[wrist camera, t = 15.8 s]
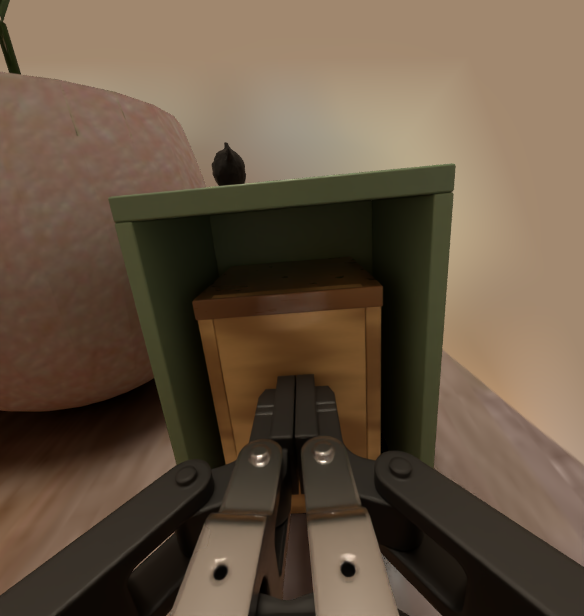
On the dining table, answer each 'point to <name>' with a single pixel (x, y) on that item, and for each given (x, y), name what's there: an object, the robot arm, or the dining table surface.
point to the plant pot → (73, 234)
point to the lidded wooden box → (294, 345)
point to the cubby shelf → (285, 248)
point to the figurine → (228, 167)
